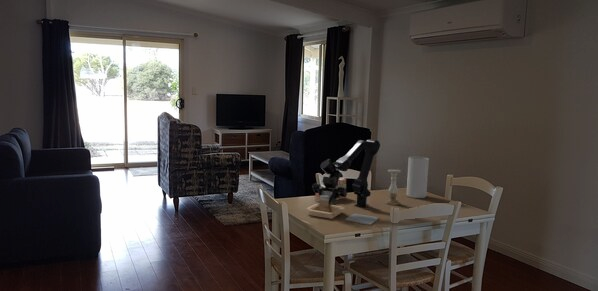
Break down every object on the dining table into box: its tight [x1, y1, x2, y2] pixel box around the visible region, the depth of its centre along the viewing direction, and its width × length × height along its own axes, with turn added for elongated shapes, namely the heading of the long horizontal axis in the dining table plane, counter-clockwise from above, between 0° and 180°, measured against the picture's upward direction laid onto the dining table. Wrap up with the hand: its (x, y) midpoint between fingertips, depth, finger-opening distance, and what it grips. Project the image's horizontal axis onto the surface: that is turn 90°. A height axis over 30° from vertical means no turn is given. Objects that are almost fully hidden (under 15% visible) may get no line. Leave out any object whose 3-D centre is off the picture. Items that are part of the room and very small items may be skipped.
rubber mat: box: [344, 213, 380, 226], centre depth 235 cm, size 14×14×1 cm
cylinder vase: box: [406, 156, 430, 199], centre depth 292 cm, size 12×12×25 cm
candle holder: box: [384, 168, 402, 206], centre depth 272 cm, size 9×9×20 cm
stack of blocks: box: [314, 177, 347, 203], centre depth 277 cm, size 21×6×12 cm, turn 135°
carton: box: [305, 203, 345, 219], centre depth 242 cm, size 17×17×4 cm
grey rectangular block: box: [318, 194, 333, 213], centre depth 242 cm, size 5×5×10 cm
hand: (324, 203), depth 241 cm, fingers closed on grey rectangular block, 5 cm apart
